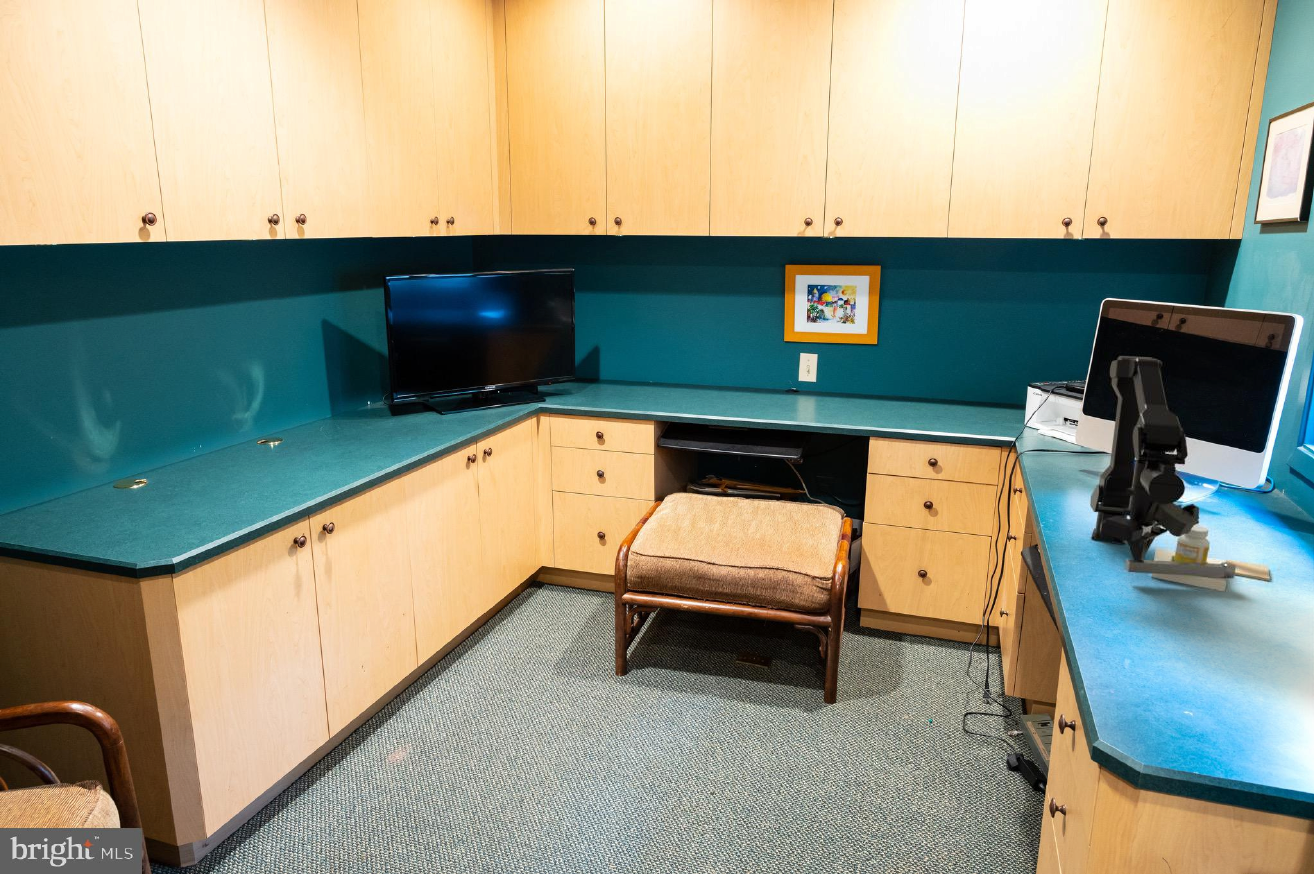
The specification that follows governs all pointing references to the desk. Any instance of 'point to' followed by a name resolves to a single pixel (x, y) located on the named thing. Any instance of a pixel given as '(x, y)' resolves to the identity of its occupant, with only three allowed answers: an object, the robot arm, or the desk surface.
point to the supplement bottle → (1193, 546)
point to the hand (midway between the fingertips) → (1137, 562)
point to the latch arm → (1181, 568)
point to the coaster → (1250, 570)
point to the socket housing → (1199, 581)
